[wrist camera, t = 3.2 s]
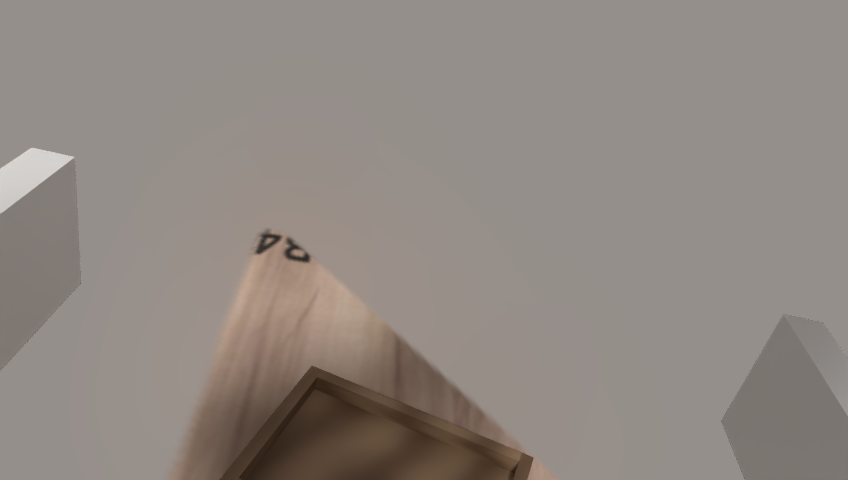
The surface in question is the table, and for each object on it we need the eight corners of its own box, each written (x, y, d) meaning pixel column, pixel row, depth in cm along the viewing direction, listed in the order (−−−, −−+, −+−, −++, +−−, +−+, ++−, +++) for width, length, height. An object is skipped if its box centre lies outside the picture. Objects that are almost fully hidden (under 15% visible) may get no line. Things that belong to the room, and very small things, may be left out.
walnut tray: (525, 476, 57) (533, 457, 56) (482, 628, 45) (490, 608, 44) (308, 384, 61) (311, 365, 60) (216, 503, 49) (217, 482, 48)
